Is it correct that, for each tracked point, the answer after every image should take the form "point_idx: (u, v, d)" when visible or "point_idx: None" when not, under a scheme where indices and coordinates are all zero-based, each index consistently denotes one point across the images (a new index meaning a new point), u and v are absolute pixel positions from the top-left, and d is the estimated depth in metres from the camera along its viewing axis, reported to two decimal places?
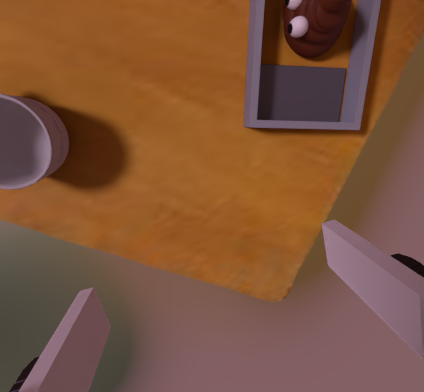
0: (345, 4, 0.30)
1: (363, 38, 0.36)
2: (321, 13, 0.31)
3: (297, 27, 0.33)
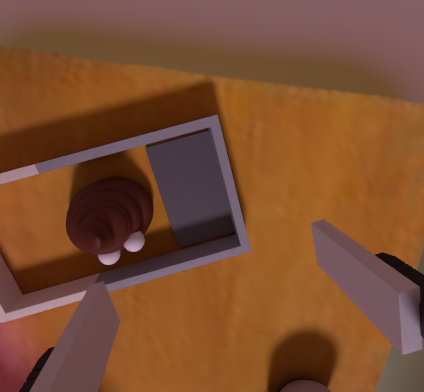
0: (100, 228, 0.25)
1: None
2: (117, 240, 0.27)
3: (137, 248, 0.29)
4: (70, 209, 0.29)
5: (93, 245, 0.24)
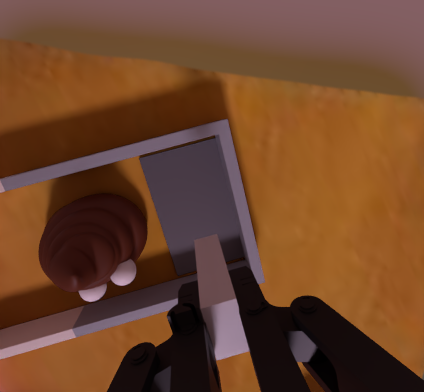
0: (78, 263, 0.20)
1: None
2: (101, 274, 0.22)
3: (126, 281, 0.24)
4: (44, 234, 0.23)
5: (69, 286, 0.19)
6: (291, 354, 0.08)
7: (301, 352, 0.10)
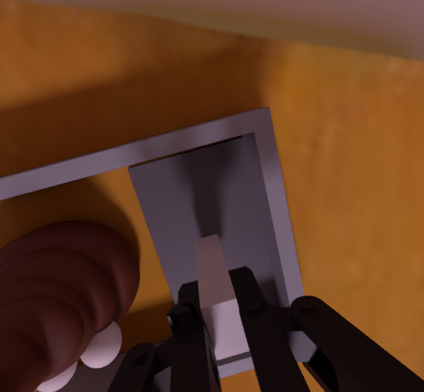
0: (11, 361, 0.11)
1: None
2: (59, 365, 0.13)
3: (105, 363, 0.15)
4: None
5: None
6: (291, 354, 0.08)
7: (301, 352, 0.10)
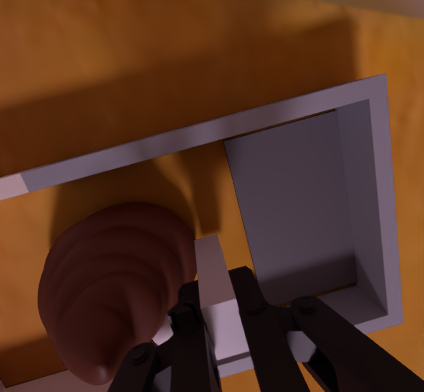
0: (107, 334, 0.11)
1: None
2: (142, 342, 0.13)
3: None
4: (46, 271, 0.14)
5: (92, 381, 0.10)
6: (291, 354, 0.08)
7: (301, 353, 0.10)
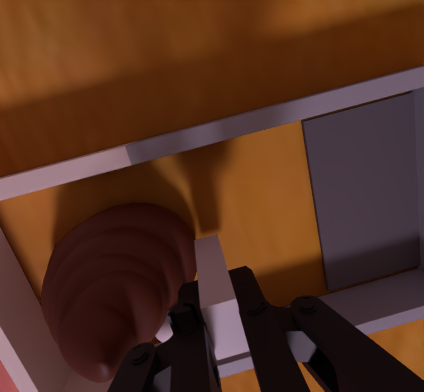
0: (108, 332, 0.11)
1: None
2: (144, 339, 0.13)
3: None
4: (47, 274, 0.15)
5: (95, 378, 0.10)
6: (291, 354, 0.08)
7: (301, 352, 0.10)
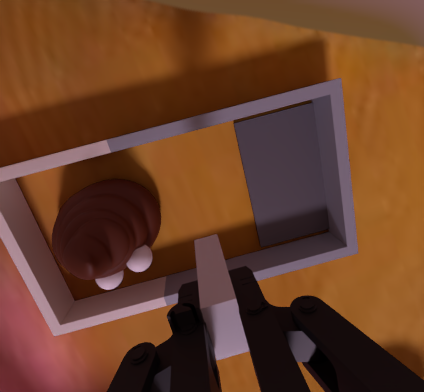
0: (92, 249, 0.19)
1: None
2: (117, 261, 0.21)
3: (143, 267, 0.23)
4: (56, 223, 0.22)
5: (84, 273, 0.18)
6: (291, 354, 0.08)
7: (301, 353, 0.10)
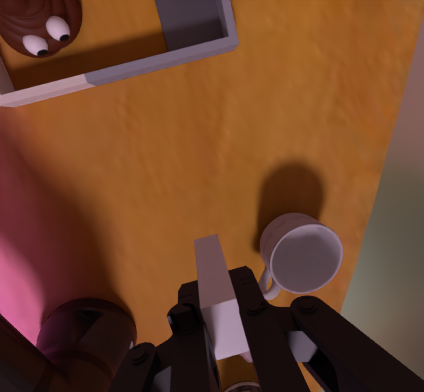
0: None
1: None
2: (33, 6, 0.28)
3: (59, 29, 0.30)
4: None
5: None
6: (291, 354, 0.08)
7: (301, 353, 0.10)
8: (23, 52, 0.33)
